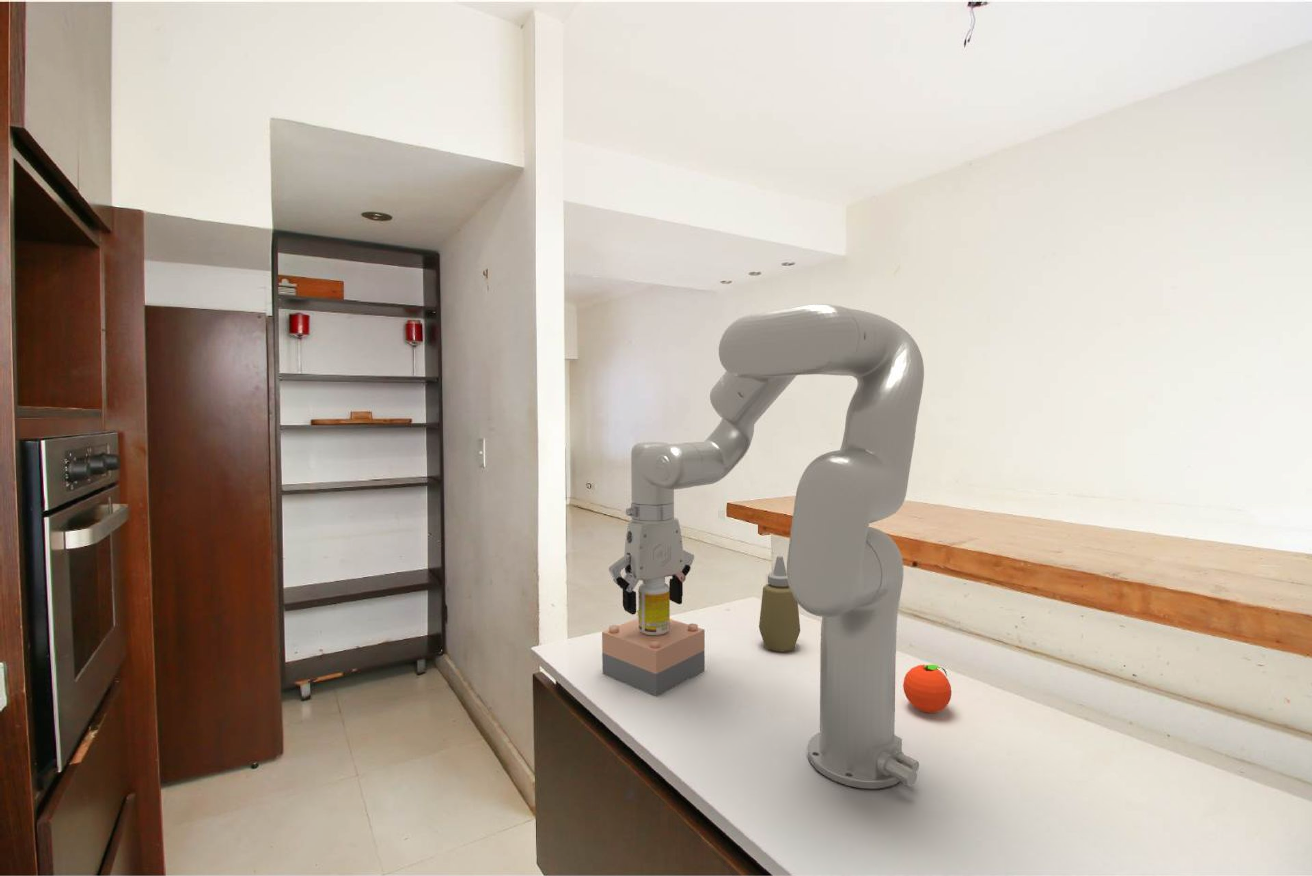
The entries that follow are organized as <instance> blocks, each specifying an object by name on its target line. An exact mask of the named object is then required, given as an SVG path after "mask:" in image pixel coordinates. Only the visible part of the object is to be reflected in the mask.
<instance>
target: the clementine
mask: <svg viewBox="0 0 1312 876" xmlns="http://www.w3.org/2000/svg"><path fill="white" fill-rule="evenodd" d="M940 669H941V670H942V671H943V672H944V673H943V672H942V671H941V670H940ZM947 677H948V674H947V670H946V669H945V668H943V667H941V666H939V665H936V664H919V665H916V666H914V667H912V668H910V670H909V671H907V672H906V674H905V676H904V679H903V682H902V688H903V693H904V695H905V697H906V699H907V700H908V702H909V703H910V704H911V705H912V707H914V708H916V709H917V710H918V711H921V712H924V713H928V714H930V713H931V714H933V713H934V714H935V713H938V712H941V711H943V710H944V709H945V708H946V707H947V706H948V705H949V703H950V701H951V699H952V686H951V683H950V680H949V679H948V678H947Z"/></svg>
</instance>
